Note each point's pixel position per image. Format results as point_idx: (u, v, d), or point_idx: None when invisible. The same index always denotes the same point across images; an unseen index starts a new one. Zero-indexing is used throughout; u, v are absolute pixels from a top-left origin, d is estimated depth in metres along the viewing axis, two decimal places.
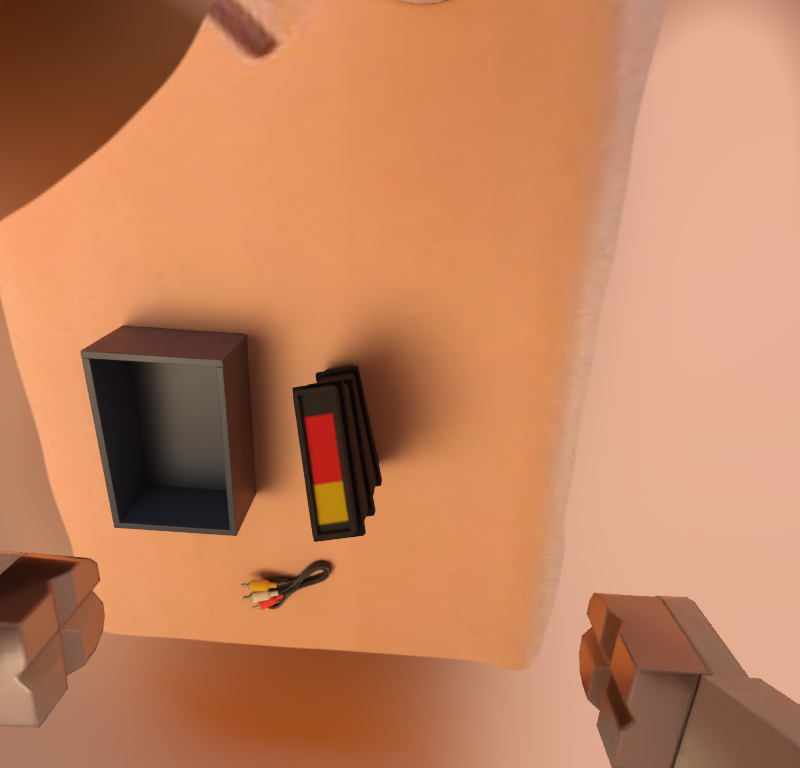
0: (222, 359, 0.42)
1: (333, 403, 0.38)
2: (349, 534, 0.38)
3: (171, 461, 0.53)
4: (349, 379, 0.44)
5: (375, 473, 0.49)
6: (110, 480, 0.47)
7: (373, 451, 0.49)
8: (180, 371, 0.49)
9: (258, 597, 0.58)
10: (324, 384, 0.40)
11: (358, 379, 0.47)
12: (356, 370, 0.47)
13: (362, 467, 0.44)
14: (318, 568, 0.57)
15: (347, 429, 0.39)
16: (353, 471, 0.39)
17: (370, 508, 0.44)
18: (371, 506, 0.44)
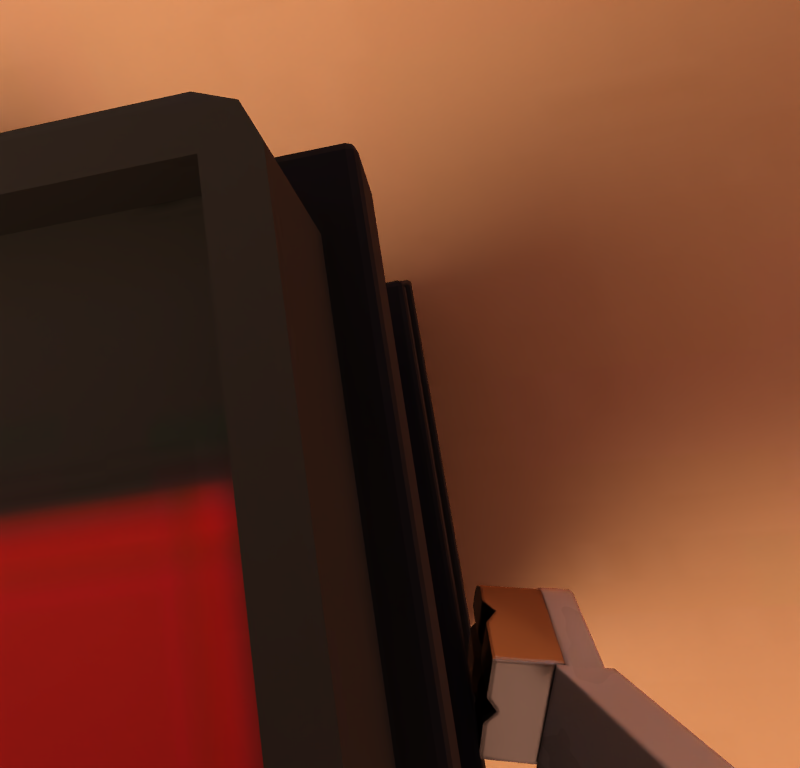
0: None
1: (239, 337, 0.03)
2: None
3: None
4: (390, 286, 0.08)
5: None
6: None
7: (466, 622, 0.13)
8: None
9: None
10: None
11: (414, 331, 0.11)
12: (407, 291, 0.11)
13: None
14: None
15: (424, 676, 0.03)
16: None
17: None
18: None
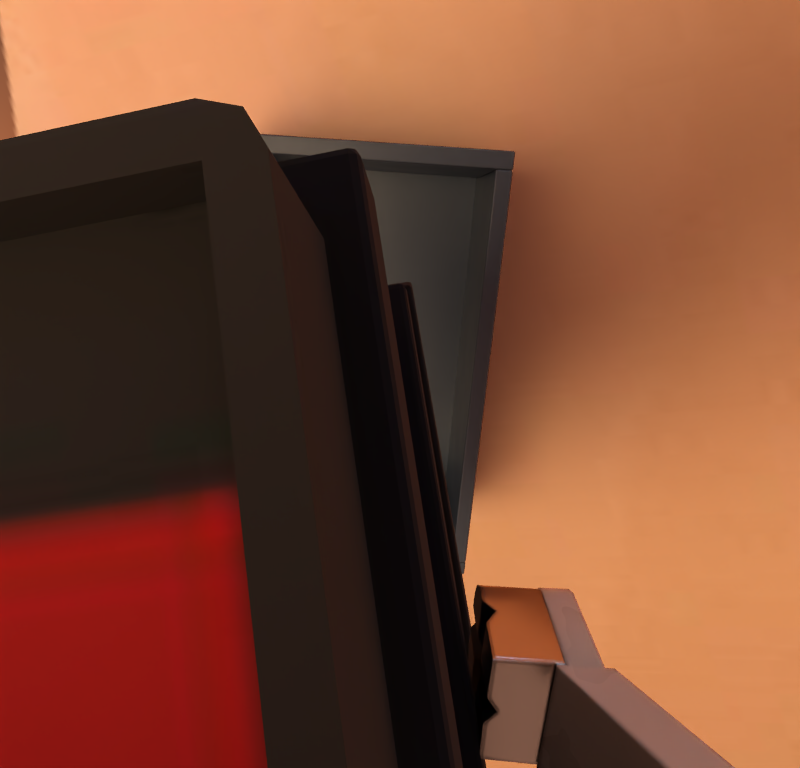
0: None
1: (243, 344, 0.03)
2: None
3: None
4: (392, 288, 0.08)
5: None
6: None
7: (466, 624, 0.13)
8: None
9: None
10: None
11: (415, 332, 0.11)
12: (408, 293, 0.11)
13: None
14: None
15: (427, 682, 0.03)
16: None
17: None
18: None
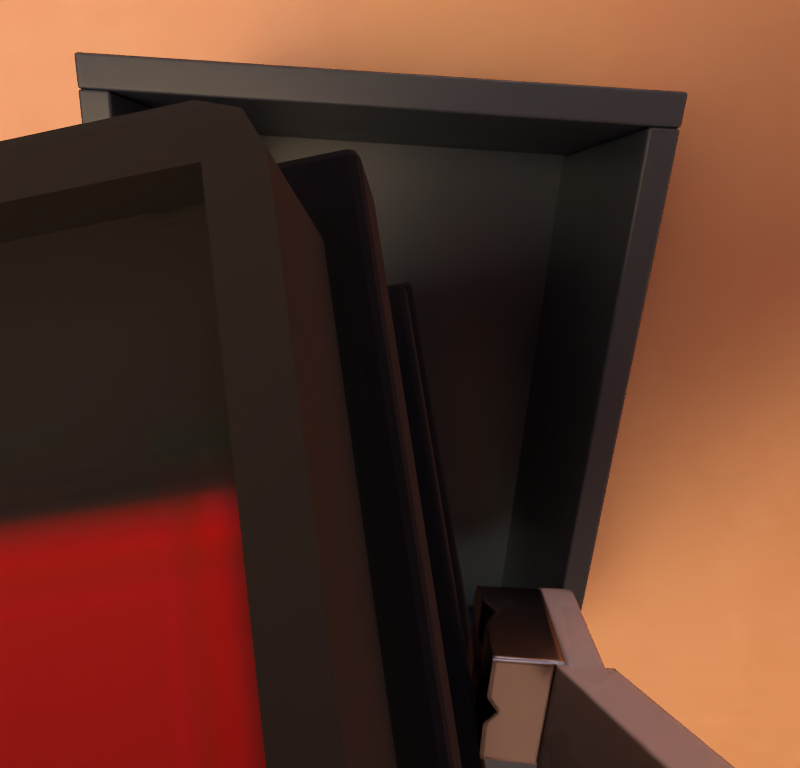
0: None
1: (243, 346, 0.03)
2: None
3: None
4: (391, 289, 0.08)
5: None
6: None
7: (466, 624, 0.13)
8: None
9: None
10: None
11: (415, 333, 0.11)
12: (407, 293, 0.11)
13: None
14: None
15: (426, 683, 0.03)
16: None
17: None
18: None
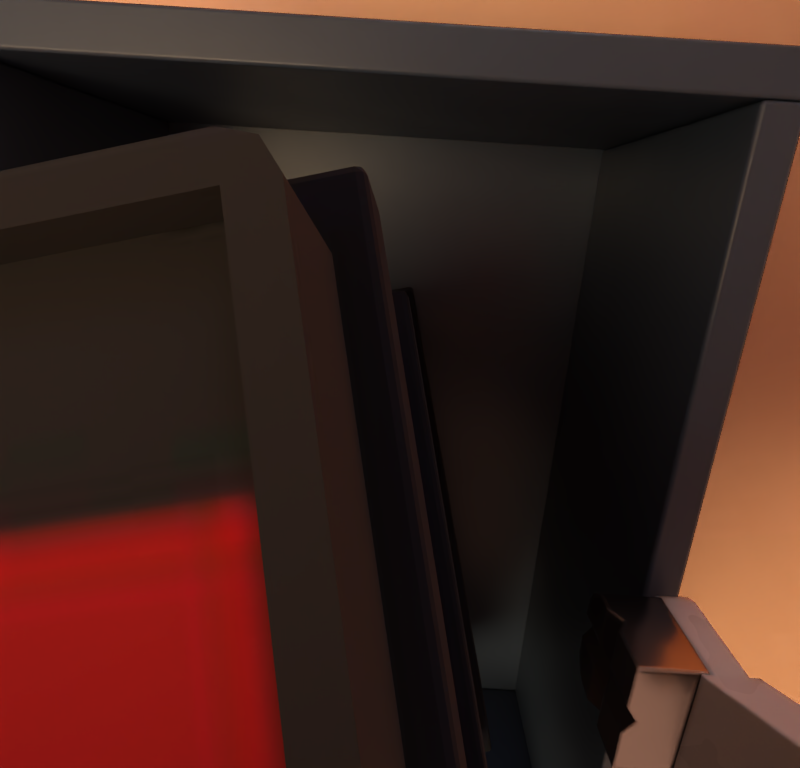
0: None
1: (261, 360, 0.03)
2: None
3: None
4: (394, 295, 0.08)
5: None
6: None
7: (467, 625, 0.13)
8: None
9: None
10: None
11: (416, 337, 0.12)
12: (409, 298, 0.11)
13: None
14: None
15: (433, 680, 0.03)
16: None
17: None
18: None
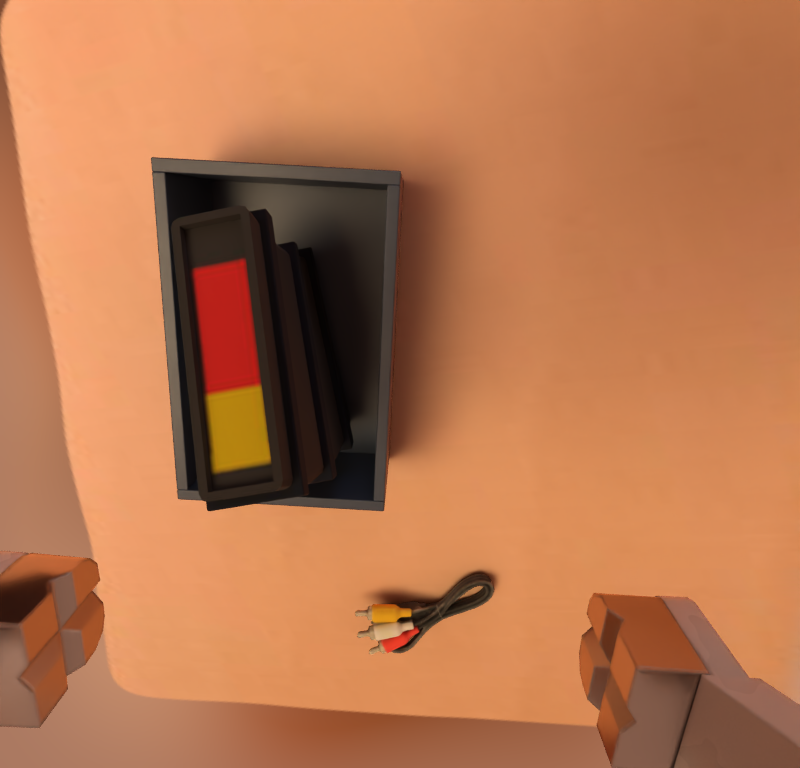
0: None
1: (245, 236, 0.20)
2: (271, 487, 0.19)
3: None
4: (291, 243, 0.26)
5: (342, 427, 0.30)
6: (179, 409, 0.28)
7: (338, 390, 0.30)
8: None
9: (383, 632, 0.37)
10: None
11: (312, 266, 0.29)
12: (308, 250, 0.29)
13: (312, 393, 0.25)
14: (478, 583, 0.37)
15: (275, 294, 0.21)
16: (285, 371, 0.20)
17: (327, 467, 0.25)
18: (328, 463, 0.25)
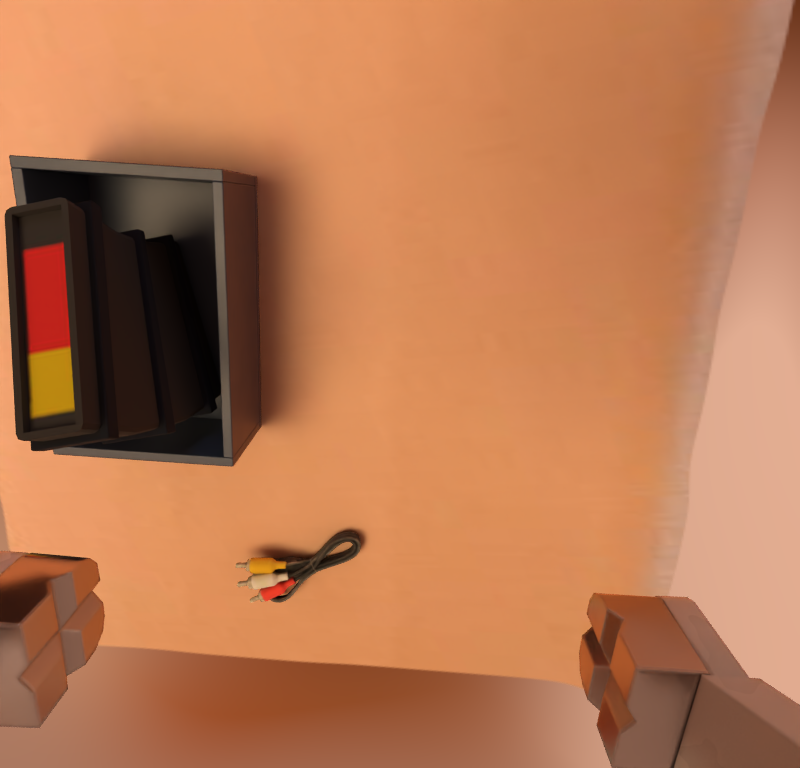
0: None
1: (64, 223, 0.24)
2: (73, 429, 0.23)
3: None
4: (136, 230, 0.30)
5: (202, 394, 0.35)
6: None
7: (198, 361, 0.34)
8: (161, 233, 0.35)
9: (259, 582, 0.41)
10: None
11: (171, 251, 0.33)
12: (167, 237, 0.33)
13: (151, 359, 0.29)
14: (344, 539, 0.41)
15: (94, 272, 0.25)
16: (99, 336, 0.25)
17: (162, 422, 0.29)
18: (164, 419, 0.29)
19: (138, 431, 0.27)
